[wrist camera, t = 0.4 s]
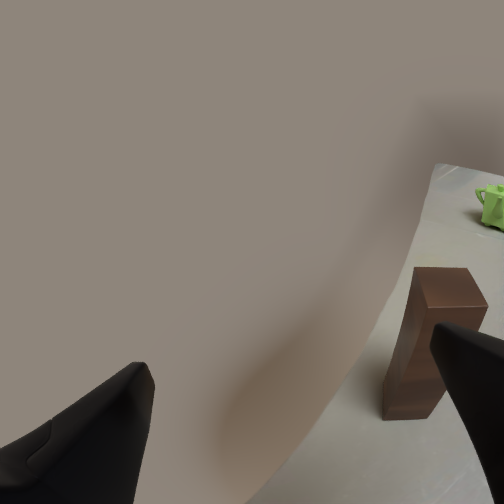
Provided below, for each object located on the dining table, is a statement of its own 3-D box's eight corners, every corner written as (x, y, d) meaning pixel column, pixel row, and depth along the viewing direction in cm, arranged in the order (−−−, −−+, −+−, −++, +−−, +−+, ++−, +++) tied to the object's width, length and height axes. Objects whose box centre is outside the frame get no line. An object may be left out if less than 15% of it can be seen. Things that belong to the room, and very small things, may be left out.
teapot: (497, 214, 54) (501, 179, 49) (525, 233, 42) (532, 194, 37) (464, 215, 55) (468, 177, 51) (493, 237, 43) (500, 192, 39)
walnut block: (427, 418, 17) (488, 306, 11) (382, 420, 19) (427, 307, 13) (423, 381, 21) (467, 267, 15) (383, 382, 23) (414, 266, 17)
